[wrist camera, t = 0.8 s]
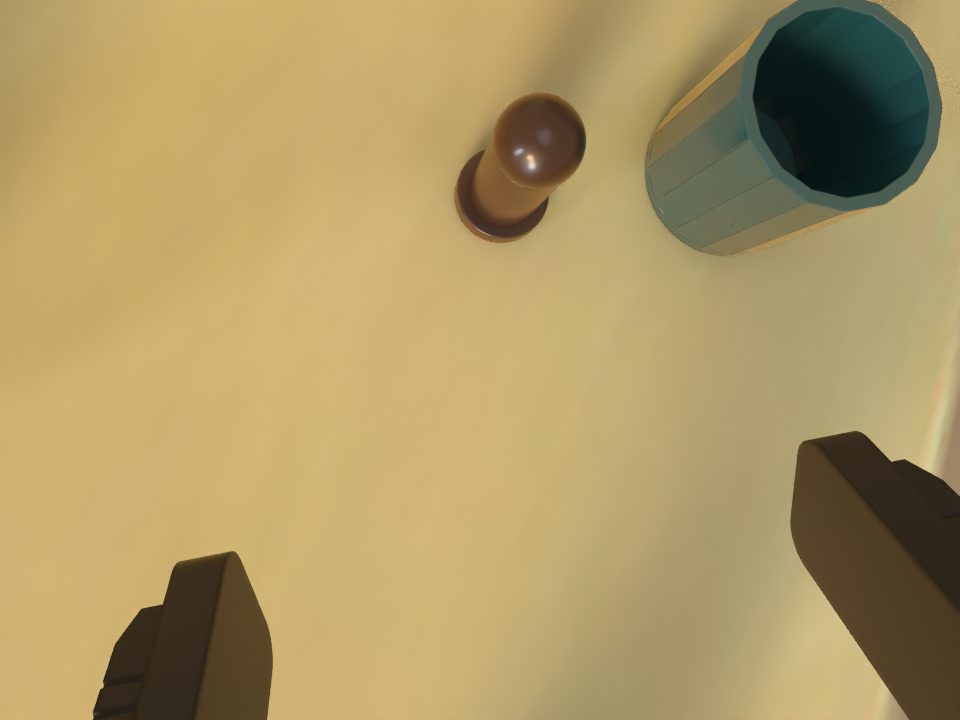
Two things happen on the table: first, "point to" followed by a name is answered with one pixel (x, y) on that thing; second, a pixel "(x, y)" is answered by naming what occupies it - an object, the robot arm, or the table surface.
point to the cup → (796, 129)
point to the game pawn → (520, 167)
